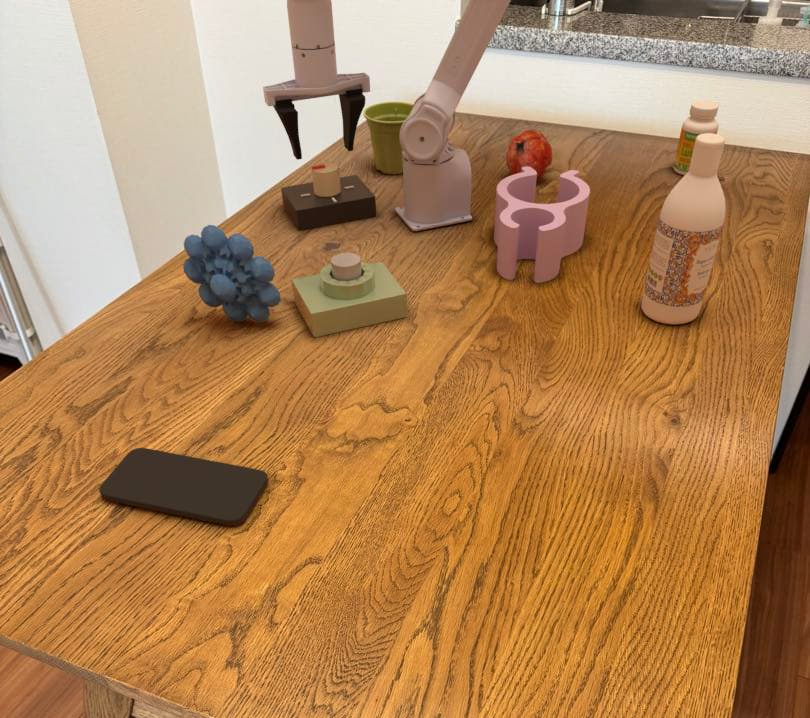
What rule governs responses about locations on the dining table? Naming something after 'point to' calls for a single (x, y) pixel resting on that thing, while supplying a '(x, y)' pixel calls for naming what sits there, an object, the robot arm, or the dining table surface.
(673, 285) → the bath foam
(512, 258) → the clip
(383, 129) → the plant pot
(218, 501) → the phone
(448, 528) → the dining table surface
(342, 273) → the pink push button
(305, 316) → the green button base
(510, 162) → the pomegranate
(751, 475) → the dining table surface
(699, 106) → the supplement bottle
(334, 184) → the dial
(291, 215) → the dial panel
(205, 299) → the grapes
